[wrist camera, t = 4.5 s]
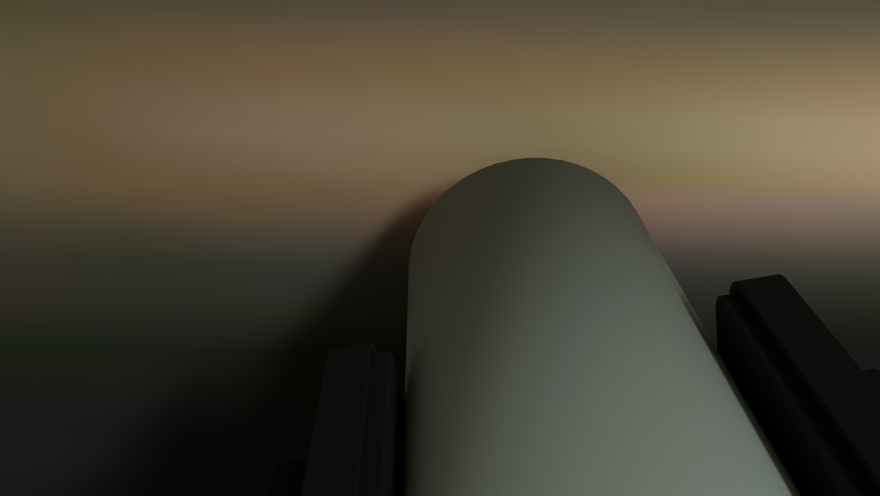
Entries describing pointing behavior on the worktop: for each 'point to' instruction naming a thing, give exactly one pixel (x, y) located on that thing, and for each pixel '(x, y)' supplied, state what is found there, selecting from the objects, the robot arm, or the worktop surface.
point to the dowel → (564, 352)
